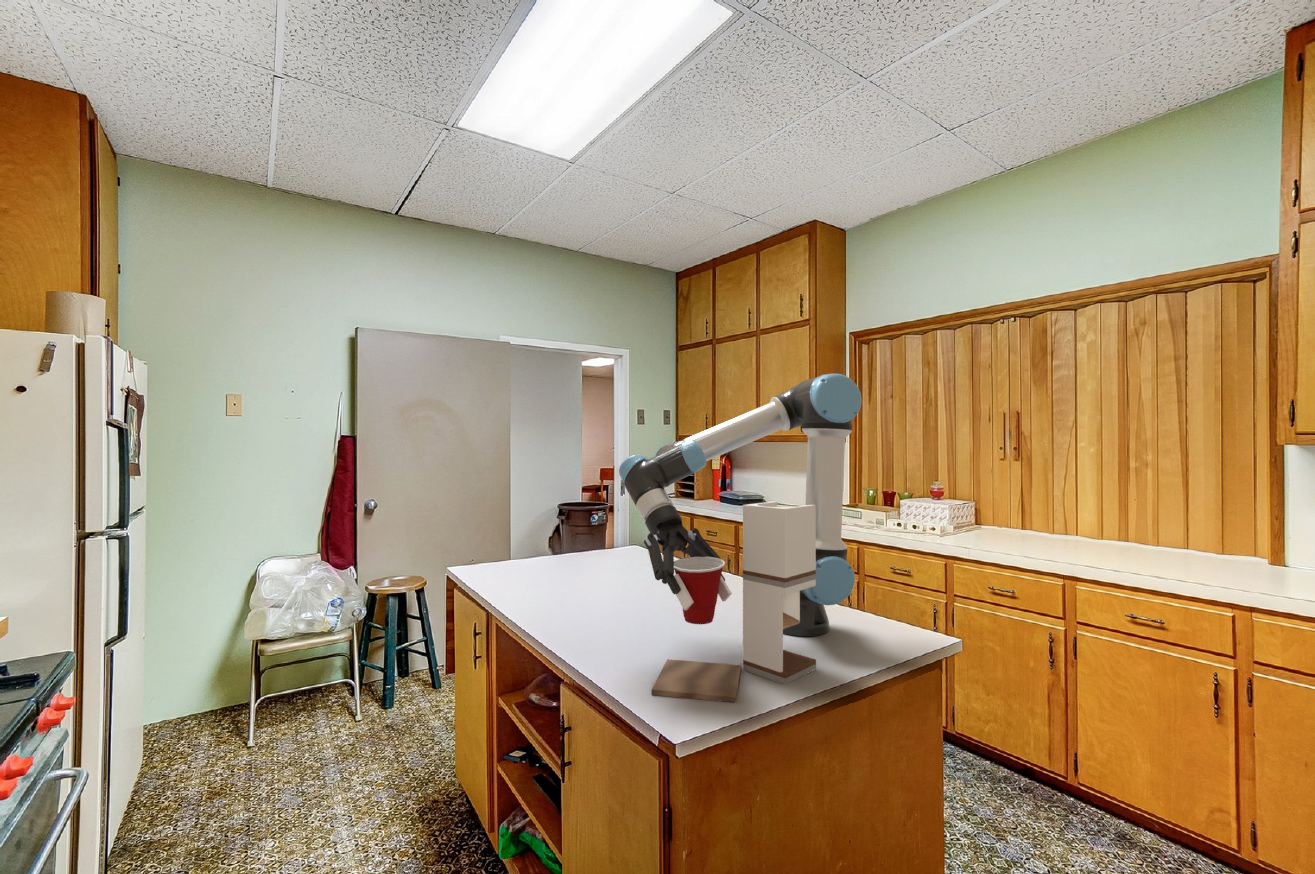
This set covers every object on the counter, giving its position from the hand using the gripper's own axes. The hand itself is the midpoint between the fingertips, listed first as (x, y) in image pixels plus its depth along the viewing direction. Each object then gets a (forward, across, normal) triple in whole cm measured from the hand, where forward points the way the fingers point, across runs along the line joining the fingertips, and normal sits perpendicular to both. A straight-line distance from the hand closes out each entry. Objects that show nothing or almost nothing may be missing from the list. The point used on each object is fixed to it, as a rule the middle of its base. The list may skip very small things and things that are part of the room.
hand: (708, 601), depth 114 cm
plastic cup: (+1, 0, -6) cm, 6 cm away
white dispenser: (+14, -18, -10) cm, 25 cm away
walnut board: (+10, 0, -14) cm, 17 cm away
